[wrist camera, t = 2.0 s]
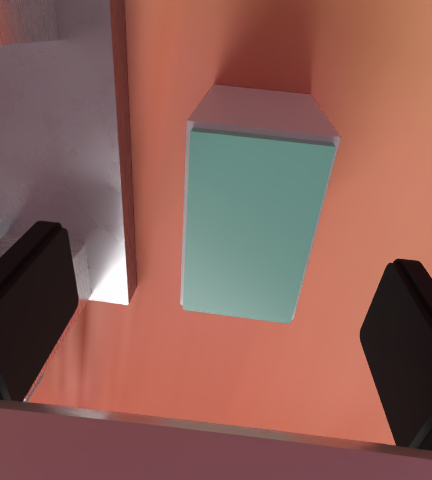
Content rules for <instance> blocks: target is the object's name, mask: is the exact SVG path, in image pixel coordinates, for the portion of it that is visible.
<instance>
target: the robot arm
mask: <svg viewBox="0 0 432 480" xmlns="http://www.w3.org/2000/svg"><path fill="white" fill-rule="evenodd" d="M78 302H79V296H78V290H77V284H76V278H75V272H74V266H73V260H72V254H71V248H70V242H69V236H68V231H67V229H66V228H62V225H61V224H60V223H59V222H49V221H37V222H36V223H35V224H34V225H33V226H32V227H31V228H30V229H29V230H28V231H27V232H26V233H25V234H24V235H23V236H22V237H21V238H19V239H18V240H17V241H16V242H15V243H14V244H13V245H12V246H11V247H10V248H9V249H8V250H7V251H6V252H5V253H4V254H3V255H2V256H1V257H0V480H432V278H431V277H430V275H429V274H428V272H427V271H426V269H425V268H424V267H423V265H422V264H421V263H420V262H419V261H415V260H406V259H396V260H395V261H394V262H393V263H389V264H388V265H387V266H386V268H385V271H384V273H383V276H382V278H381V281H380V283H379V285H378V288H377V290H376V293H375V295H374V298H373V300H372V303H371V305H370V307H369V310H368V312H367V315H366V317H365V320H364V322H363V325H362V327H361V330H360V341H361V344H362V347H363V350H364V353H365V356H366V359H367V362H368V365H369V368H370V371H371V373H372V376H373V379H374V382H375V385H376V388H377V391H378V394H379V397H380V400H381V403H382V406H383V408H384V411H385V414H386V417H387V420H388V423H389V426H390V429H391V432H392V435H393V438H394V440H395V443H396V446H394V445H387V444H380V443H372V442H364V441H356V440H348V439H340V438H332V437H323V436H315V435H307V434H299V433H291V432H283V431H275V430H266V429H258V428H250V427H241V426H233V425H224V424H216V423H207V422H199V421H190V420H182V419H173V418H165V417H156V416H148V415H139V414H130V413H121V412H112V411H103V410H94V409H85V408H76V407H68V406H59V405H50V404H40V403H30V402H23V401H24V399H25V397H26V395H27V394H28V392H29V390H30V389H31V387H32V385H33V383H34V382H35V380H36V378H37V376H38V375H39V373H40V371H41V370H42V368H43V366H44V364H45V363H46V361H47V359H48V358H49V356H50V354H51V352H52V351H53V349H54V347H55V346H56V344H57V342H58V340H59V339H60V337H61V335H62V333H63V332H64V330H65V328H66V327H67V325H68V323H69V321H70V320H71V318H72V316H73V315H74V313H75V311H76V309H77V307H78Z"/></svg>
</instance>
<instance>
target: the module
mask: <svg viewBox="0 0 432 480" xmlns="http://www.w3.org/2000/svg"><path fill="white" fill-rule="evenodd" d="M340 138H341V136H340V135H339V133H338V132H337V131H336V129H335V128H334V126H333V125H332V123H331V122H330V121H329V119H328V118H327V116H326V115H325V113H324V112H323V111H322V109H321V108H320V106H319V105H318V103H317V102H316V101H315V99H314V98H313V96H312V95H311V94H303V93H293V92H283V91H273V90H263V89H254V88H244V87H234V86H224V85H213V86H212V87H211V89H210V90H209V91H208V93H207V94H206V95H205V97H204V98H203V99H202V101H201V102H200V104H199V105H198V106H197V108H196V109H195V110H194V112H193V113H192V114H191V116H190V117H189V118H188V120H187V135H186V162H185V190H184V217H183V245H182V272H181V300H180V305H183V310H188V311H196V312H204V313H211V314H219V315H226V316H234V317H241V318H249V319H256V320H264V321H272V322H279V323H287V324H291V320H293V319H294V315H295V312H296V308H297V304H298V300H299V296H300V292H301V288H302V285H303V281H304V277H305V273H306V269H307V265H308V262H309V258H310V254H311V250H312V246H313V242H314V238H315V235H316V231H317V227H318V223H319V219H320V215H321V211H322V208H323V204H324V200H325V196H326V192H327V188H328V185H329V181H330V177H331V173H332V169H333V165H334V161H335V158H336V154H337V150H338V146H339V142H340Z"/></svg>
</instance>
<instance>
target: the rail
mask: <svg viewBox="0 0 432 480" xmlns="http://www.w3.org/2000/svg"><path fill="white" fill-rule="evenodd" d="M37 221H49V222H59V223H60V224H61V225H62V228H66V229H67V231H68V236H69V242H70V248H71V254H72V260H73V266H74V272H75V278H76V284H77V290H78V296H79V302H78V307H77V309H76V311H75V313H74V315H73V316H72V318H71V320H70V321H69V323H68V325H67V327H66V328H65V330H64V332H63V333H62V335H61V337H60V339H59V340H58V342H57V344H56V346H55V347H54V349H53V351H52V352H51V354H50V356H49V358H48V359H47V361H46V363H45V364H44V366H43V368H42V370H41V371H40V373H39V375H38V376H37V378H36V380H35V382H34V383H33V385H32V387H31V389H30V390H29V392H28V394H27V395H26V397H25V399H24V401H26V400H27V399H28V397H29V395H30V394H31V392H32V390H33V389H34V387H35V386H36V384H37V382H38V381H39V379H40V377H41V376H42V374H43V373H44V371H45V369H46V368H47V366H48V364H49V363H50V361H51V360H52V358H53V356H54V355H55V353H56V351H57V350H58V348H59V347H60V345H61V343H62V342H63V340H64V338H65V337H66V335H67V334H68V332H69V330H70V329H71V327H72V326H73V324H74V322H75V321H76V319H77V317H78V316H79V314H80V313H81V311H82V309H83V308H84V306H85V304H86V303H87V301H88V300H95V301H103V302H110V303H118V304H125V305H129V303H130V301H131V298H132V296H133V294H134V292H135V290H136V288H137V273H136V251H135V229H134V206H133V184H132V161H131V139H130V117H129V94H128V72H127V49H126V27H125V5H124V0H0V257H1V256H2V255H3V254H4V253H5V252H6V251H7V250H8V249H9V248H10V247H11V246H12V245H13V244H14V243H15V242H16V241H17V240H18V239H19V238H21V237H22V236H23V235H24V234H25V233H26V232H27V231H28V230H29V229H30V228H31V227H32V226H33V225H34V224H35V223H36V222H37Z"/></svg>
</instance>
